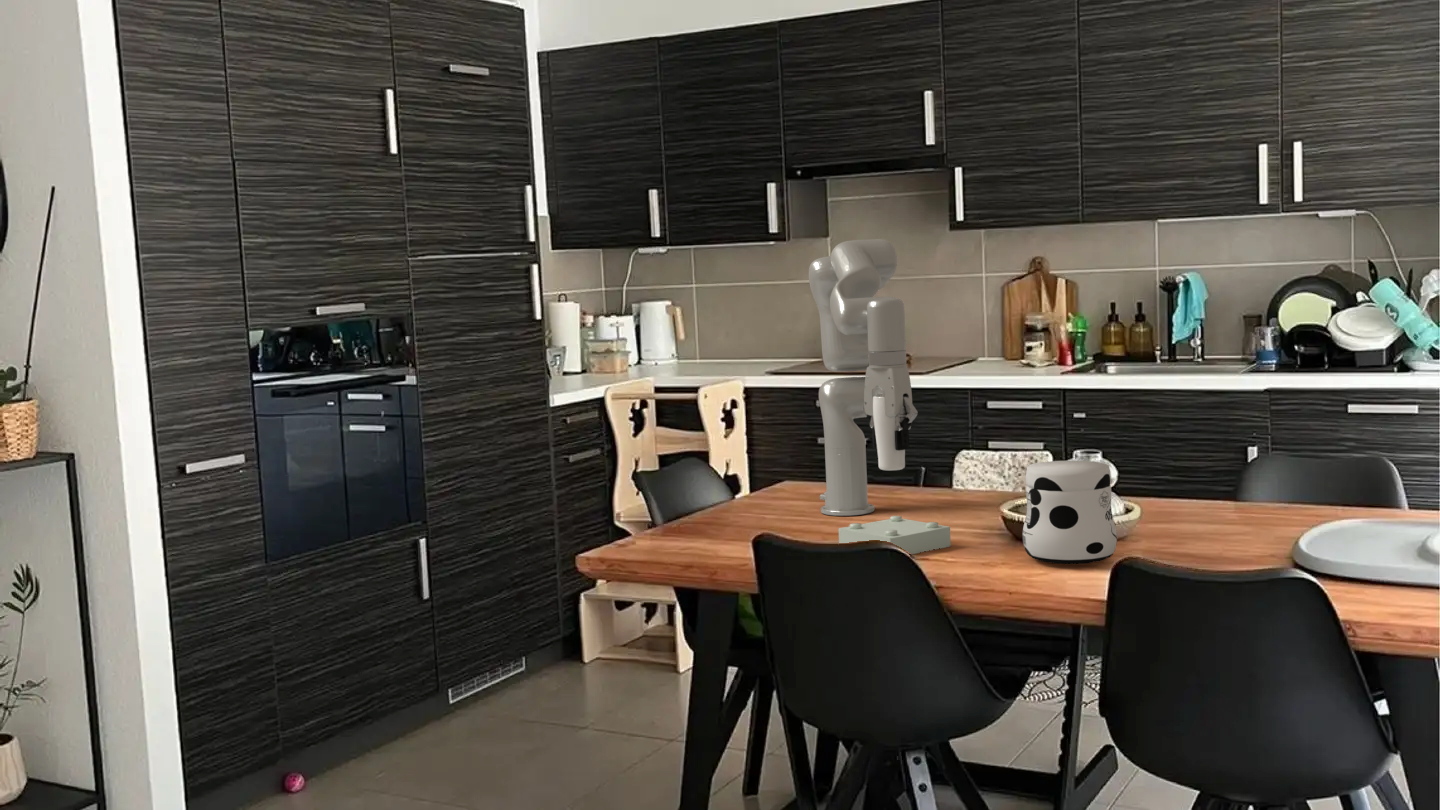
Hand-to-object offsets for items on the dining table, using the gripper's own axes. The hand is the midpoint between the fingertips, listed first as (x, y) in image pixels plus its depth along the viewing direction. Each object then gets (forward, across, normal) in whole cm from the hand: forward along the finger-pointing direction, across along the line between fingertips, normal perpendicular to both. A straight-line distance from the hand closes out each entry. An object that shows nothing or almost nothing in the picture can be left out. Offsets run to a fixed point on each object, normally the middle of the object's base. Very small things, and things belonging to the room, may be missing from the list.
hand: (890, 447), depth 281 cm
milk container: (+21, +34, +14) cm, 42 cm away
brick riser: (+20, 0, 0) cm, 20 cm away
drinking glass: (+5, 0, 0) cm, 5 cm away
